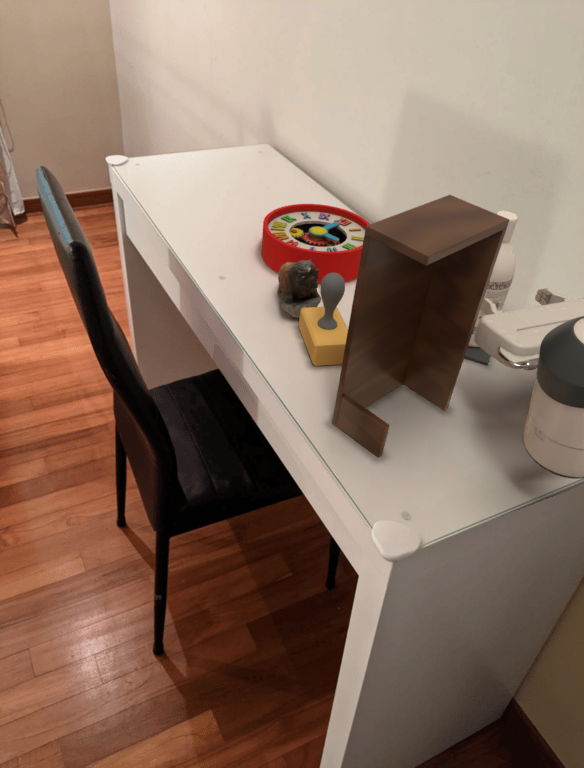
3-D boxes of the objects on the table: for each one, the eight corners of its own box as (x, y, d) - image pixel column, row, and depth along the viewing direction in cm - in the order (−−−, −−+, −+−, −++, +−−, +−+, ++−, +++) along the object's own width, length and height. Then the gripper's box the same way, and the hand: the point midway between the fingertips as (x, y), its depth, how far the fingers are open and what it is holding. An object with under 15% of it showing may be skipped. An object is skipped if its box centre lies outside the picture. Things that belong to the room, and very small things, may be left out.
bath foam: (498, 336, 96) (541, 216, 83) (478, 354, 92) (520, 230, 79) (458, 318, 99) (495, 200, 87) (437, 335, 95) (472, 213, 82)
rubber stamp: (351, 364, 88) (364, 292, 80) (312, 366, 87) (322, 293, 79) (334, 325, 95) (344, 255, 88) (298, 326, 94) (305, 256, 86)
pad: (497, 335, 97) (498, 333, 97) (487, 365, 90) (487, 363, 90) (442, 318, 99) (443, 316, 99) (428, 346, 93) (428, 344, 93)
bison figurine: (271, 285, 103) (275, 230, 97) (312, 286, 104) (319, 231, 98) (280, 326, 94) (285, 267, 87) (324, 325, 95) (333, 268, 89)
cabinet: (447, 407, 82) (510, 219, 65) (378, 457, 74) (428, 256, 57) (402, 379, 86) (449, 194, 69) (331, 423, 78) (365, 225, 61)
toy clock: (239, 222, 107) (312, 195, 120) (238, 252, 111) (309, 223, 123) (327, 265, 98) (396, 231, 110) (323, 297, 101) (390, 260, 114)
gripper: (509, 392, 72) (443, 328, 81) (635, 363, 79) (561, 307, 88) (526, 349, 68) (455, 286, 77) (658, 322, 75) (578, 268, 84)
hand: (513, 297), depth 83 cm, fingers open, 8 cm apart
